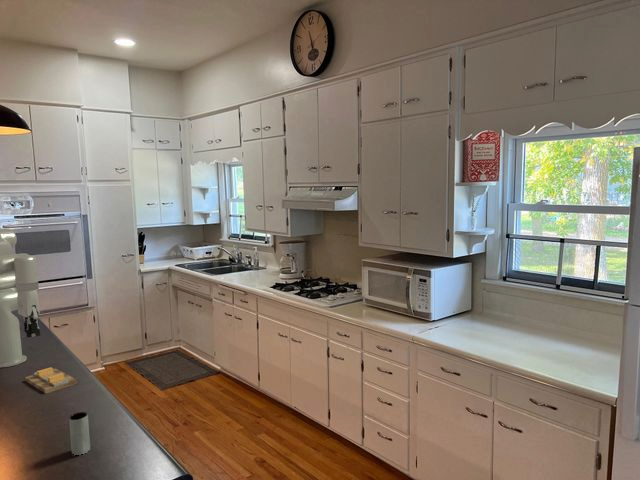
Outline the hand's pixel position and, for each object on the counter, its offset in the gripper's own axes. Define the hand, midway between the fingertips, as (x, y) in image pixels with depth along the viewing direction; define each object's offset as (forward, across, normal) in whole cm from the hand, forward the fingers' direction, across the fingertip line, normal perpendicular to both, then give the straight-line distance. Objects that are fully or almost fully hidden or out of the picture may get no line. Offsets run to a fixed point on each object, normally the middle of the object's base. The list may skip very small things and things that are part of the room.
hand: (31, 331), depth 186 cm
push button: (+2, 0, 0) cm, 2 cm away
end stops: (+15, +16, 0) cm, 21 cm away
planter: (+17, +75, -15) cm, 78 cm away
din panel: (+17, +16, 0) cm, 23 cm away
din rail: (+15, +16, 0) cm, 22 cm away
